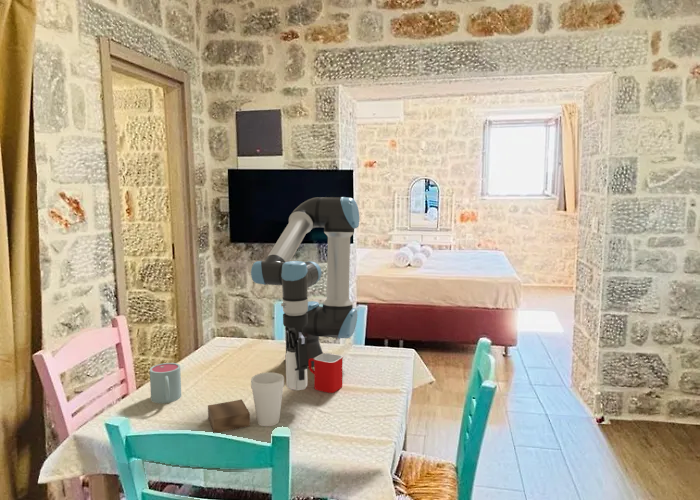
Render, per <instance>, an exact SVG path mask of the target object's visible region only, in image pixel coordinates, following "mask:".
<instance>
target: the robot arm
mask: <svg viewBox="0 0 700 500" xmlns="http://www.w3.org/2000/svg"><path fill="white" fill-rule="evenodd" d="M359 226H360V212H359V207H358V204H357V202H356V200H355V199H354V198H352V197H346V196H340V197H339V196H338V197H337V196H336V197H335V196H330V197H329V196H328V197H327V196H325V197H323V196H322V197H321V196H319V197H318V196H317V197H312V198H309V199H307V200H305V201H304V202H302V203H300V204H299V205H298V206H297V207H296V208H295V209H294V210H293V211H292V212H291V214H290V215H289V217H288V224H286V227H284V229H283V231H282V233H280V236H279V238H278V239H277V241H276V243H275V244H274V245H273V247H272V249H271V250H270V251H269V253H268V255H267V256H266V258H265V259H264V261H263V260H259V261H258V260H257V261H255V262H254V263H253V264H252V266H251V270H250V277H251V280H252V282H253V283H255V284H257V285H265V286H266V285H267V286H281V287H282V288H281V289H282V303H280V306H281V307H282V312H283V314H282V324H283V326H284V330H285V359H284V361H285V362H286V353H287V349H288V348H289V347H290V348H295V356H296V365H297V368H295V371H296V390H295V391H300V390H301V391H302V390H305V389H306V388H305V369H307V370H309V359H310V358H313V359H314V358H315V357H317V356H319V355H320V354H322V353H324V352H323V350H322V349H323V348H322V345H321V344H320V337H323V338H331V339H332V338H336V339H350V338H351V337H352V336H353V335H354V333H355V331H356V327H357V323H358V316H359V315H358V310H357V309H356V308H354V303H353V301H351V299H350V263H351V262H350V261H351V259H350V258H351V249H350V248H351V237H352V236H353V235H354V234H355V229H358V228H359ZM315 228H323V233H324V234H325V235H326V237H327V267H326V268H327V269H326V270H327V271H326V272H327V273H326V275H327V277H326V299H325V300H324V301H323V302H322V306H320V303H319V302H318V301H309V299H308V288H310V287H312V286H314V285H316V284H317V283H318V282H319V281H320V280H321V278H322V268H321V266H320V265H319V263H317V262H315V261H301V260H292V259H293V258H294V255H295V254H296V252H297V250H298V248H299V247H300V245H301V243H302V242H303V240H304V238H305V236H306V234H308V233H310V232H311V230H313V229H315ZM312 366H313V367H314V361H311V367H312Z"/></svg>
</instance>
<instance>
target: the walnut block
mask: <svg viewBox="0 0 700 500" xmlns="http://www.w3.org/2000/svg"><path fill="white" fill-rule="evenodd" d="M250 414H251V413H250V410H249V409H248V407H247V406H246V404H245V402H244V400H243V399H236V400H232V401H225V402H219V403H214V404H207V415H208V416H207V417H208V418H207V419H208V420H209V423H210V426H211V429H212V432H213V433H214V432H218V433H222V432H228V431H233V430H238V429H241V428H242V429H243V428H248V427H251V420H250V419H251V418H250V417H251V415H250Z"/></svg>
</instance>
